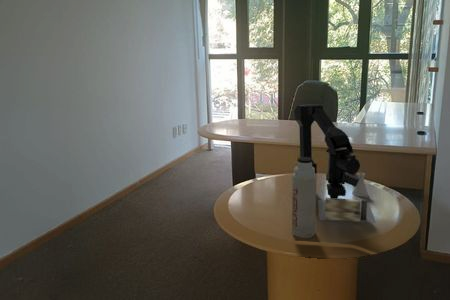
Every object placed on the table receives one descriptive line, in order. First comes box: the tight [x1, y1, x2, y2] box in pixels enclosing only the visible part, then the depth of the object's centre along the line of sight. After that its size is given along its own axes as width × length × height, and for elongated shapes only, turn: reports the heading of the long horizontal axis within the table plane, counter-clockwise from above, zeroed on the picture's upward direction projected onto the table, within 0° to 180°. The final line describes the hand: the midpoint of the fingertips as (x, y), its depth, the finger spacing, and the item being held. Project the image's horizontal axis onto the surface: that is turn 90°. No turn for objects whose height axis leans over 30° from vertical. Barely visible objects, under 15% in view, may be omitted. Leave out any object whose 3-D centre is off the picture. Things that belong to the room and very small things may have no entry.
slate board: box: [317, 199, 377, 224], centre depth 158 cm, size 20×20×1 cm
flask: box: [351, 172, 369, 198], centre depth 174 cm, size 7×7×10 cm
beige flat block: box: [325, 197, 361, 213], centre depth 153 cm, size 12×2×6 cm, turn 73°
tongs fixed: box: [324, 199, 368, 222], centre depth 150 cm, size 15×4×7 cm, turn 79°
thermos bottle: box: [291, 156, 318, 239], centre depth 138 cm, size 8×8×28 cm
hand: (334, 204), depth 157 cm, fingers closed
